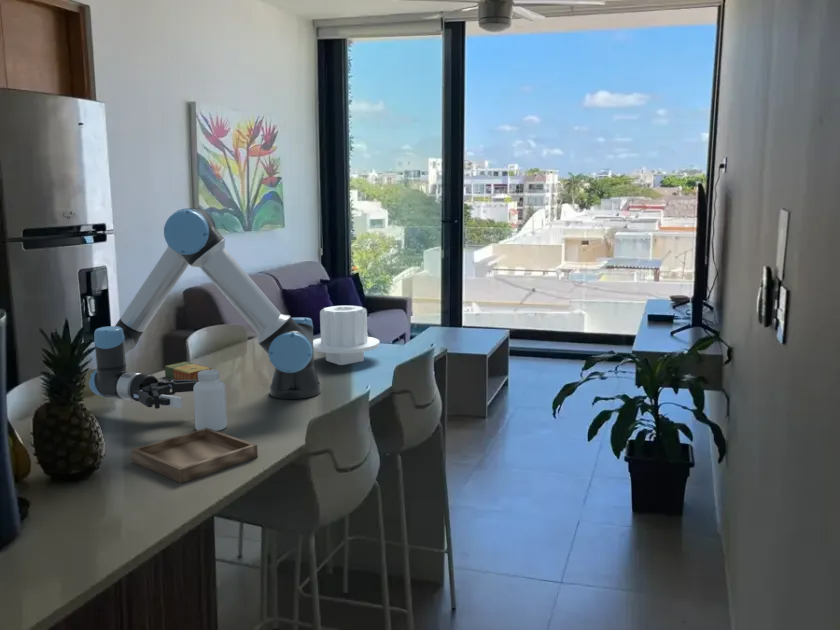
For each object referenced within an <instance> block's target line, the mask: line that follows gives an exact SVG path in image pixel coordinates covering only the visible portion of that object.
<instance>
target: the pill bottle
mask: <svg viewBox="0 0 840 630" xmlns="http://www.w3.org/2000/svg"><path fill="white" fill-rule="evenodd" d="M198 380H199V382H197V383H196V384H195V385H194V388H193V391H192V392H193V409H194V410H193V411H194V413H193V414H194V426H195V427H194V428H195V429H196V430H195V431H197V430H201V429H204V428H209V429H212V430H215V431H218V432H220V431H222V430H224V429H225V428H226V427H227V424H228V423H227V422H228V421H227V420H228V419H227V418H228V417H227V399H226V397H227V395H226V384H225V383H224V381H222V380H220V371H219V370H217V369H212V370H203V371H200V372H198Z"/></svg>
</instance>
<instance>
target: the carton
mask: <svg viewBox="0 0 840 630" xmlns="http://www.w3.org/2000/svg"><path fill="white" fill-rule="evenodd" d="M203 370H213V369H212V367H208V366H204V365H200V364H197V363H193V362H188V361H182V362H176V363H172V364H169V365H168V364H167V365H165V366H164V373H165V374H164V375H165V378H169V379H173V380H198V372H200V371H203Z"/></svg>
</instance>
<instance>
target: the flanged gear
mask: <svg viewBox="0 0 840 630" xmlns="http://www.w3.org/2000/svg"><path fill="white" fill-rule="evenodd" d="M319 321H320V322H319V324H320V325H319V326H320V327H319V329H320V337H319V338H315V339H313V351H314V352H319V353H325V361H327V362H329V363H333V364H335V365H338V366H345V365H350V364H351V365H352V364H355V363H362V362H364V359H365V358H364V352H369V351H373V350H375V349H377V348H379V347H380V342H381V341H380V339H378V338H376V337H371V336H368V309H367V308H366V307H363V306H359V305H334V306H333V305H332V306H328V307H323V308H322V309H321V310H320V311H319Z"/></svg>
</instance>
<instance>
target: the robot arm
mask: <svg viewBox="0 0 840 630" xmlns="http://www.w3.org/2000/svg"><path fill="white" fill-rule="evenodd" d="M164 223H165V224H164V227H163V237H164V239H165V242H166V244H167V248H166V249H165V251H164V252H163V253H162V255H161V257H160V258H159V260H158V261H157V263H156V264H155V266H154V267H153V269H152V270H151V272H150V273H149V275H148V276H147V277H146V279H145V281H144V282H143V283H142V285H141V287H140V288H139V290H137V292H136V294H135V295H134V297H133V299H132V300H131V301H130V303H129V305H128V306H127V308H125V310H124V312H123V314H122V315H121V316H120V318H119V320H118V321H117V322H116V324H115V325H113V326H112V325H111V326H108V325H107V326H101V327H98V328H96V329H95V330H94V333H93V335H94V338H93V339H94V340H93V343H94V349H95V361H96V362H95V363H96V369H95V370H94V371H93V372H92V373H91V374H90V379H89V380H88V386H89V389H90V390H91V392H92V393H93V394H94V395H98V396H101V397H103V398H114V399H120V400H127V401H130V402H131V403H134V401H135V402H139V403H141V404H142V405H144V406H145V407H147V408H152V407H153V405H154V409H155V410H156V409H160V408H161V406H163V407H168V408H176V409H183V397H182V396H178V395H177V396H176V395H175V394H176V393H177V394H178V393H189V392H190V393H191V392H193V388H194V385H195V384H196V383H197V382H199V380H175V379H172V378H169V379H168V380H167V381H165V380H160V381H159V380H158V378H157V377H156V376H154V375H153V374H145V373H140V372H132V371H127V359H126V354H127V353H128V352H130V351H131V350H133V349H135V347H136V346H137V344H138V343H139V342H140V341H139V340H140V338H141V337H142V335H143V334H144V332H145V330H146V329H147V327H148V326H149V324H150V323H151V322H152V320H153V319H154V317H155V315H156V314H157V313H158V312H159V310H160V308H161V307H162V305H163V303H164V302H165V301H166V299H167V298H168V296H169V295H170V293H171V292H172V291H173V289H174V288H175V286H176V284H177V283H178V281H179V280H180V279H181V277H182V275H184V273H185V271H186V270H187V269H188V267H189V266H190V267H194V268H199V269H200V270H201V271H202V272H203V273H204V274H205V275H206V277H208V279H209V280H210V281H211V282H212V284H213V285H214V286H215V287H216V288H217V289H218V290H219V291H220V293H222V295H223V296H224V297H225V298H226V299H227V300H228V302H229V303H230V304H231V305H232V307H234V309H235V310H236V311H237V312H238V313H239V314H240V316H241V317H242V318H243V319H244V320H245V322H246V323H247V324H248V325H249V326H250V327H251V328H252V329H253V330H254V332H256V334H257V343H258V345H259V346H260V347H261V348H262V349H263V351H264V352H265V353H266V354H267V355H268V359H269V361H270V363H271V365H272V366H274V372H273V375H272V379H271V384H270V386H269V395H270V396H272V397H274V398H276V399H283V400H298V399H299V400H300V399H306V398H307V399H308V398H311V397H314V396H317V395H319V394H321V382H320V381H319V377H318V374H317V372H316V368H315V361H314V360H315V359H314V357H315V356H314V355H315V354H314V353H315V351H313V340H314V331H313V330H314V325H313V320H312V318H310V317H292V316H291V315H289V314H282V313H281V312H280V311H279V309H278V308H277V307H276V306H275V305H274V304H273V302H272V301H271V300H270V299H269V298H268V297H267V295H266V294H265V293H264V292H263V290H261V288H260V287H259V286H258V285H257V284H256V283H255V281H254V280H253V279H252V278H251V277H250V275H249V274H248V273H247V272H246V271H245V269H244V268H243V267H242V266H241V265H240V264H239V262H237V260H236V259H235V257H234V256H233V255H232V254H231V253H230V252H229V251H228V249H227V248H226V247H225V245H226V244H225V243H226V239H225V238H224V236H223V235H222V234H221V233H220V232H219V230H218V229H217V228H216V226H217V225H216V222H215V220H214V218H213V217H212V215H210V213H208V212H207V211H205V210H204V209H202V208H197V207H189V208H181V209H179V210H176V211H175V212H173V213H172V214H171V215H170V216H169V217H168V218H167V220H166V222H164ZM174 395H175V396H174Z"/></svg>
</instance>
